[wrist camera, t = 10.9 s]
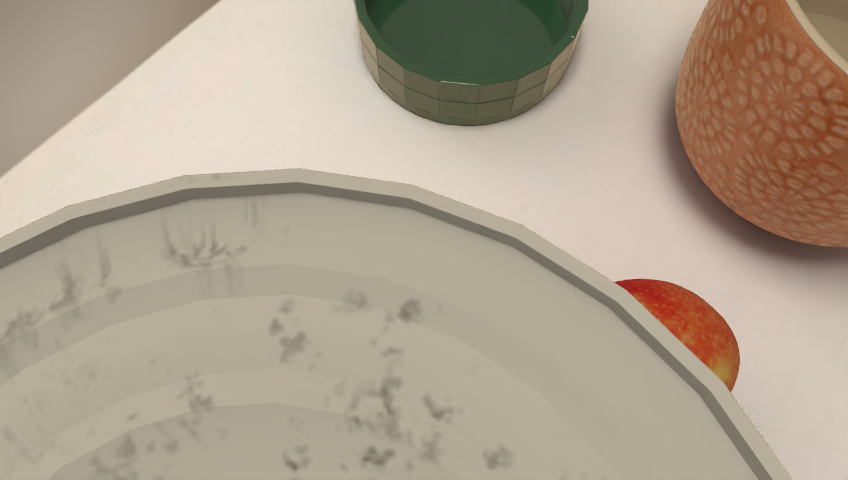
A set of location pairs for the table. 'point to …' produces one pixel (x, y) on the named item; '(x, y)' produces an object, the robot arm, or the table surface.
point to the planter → (771, 113)
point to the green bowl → (468, 53)
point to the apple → (690, 324)
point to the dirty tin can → (338, 345)
